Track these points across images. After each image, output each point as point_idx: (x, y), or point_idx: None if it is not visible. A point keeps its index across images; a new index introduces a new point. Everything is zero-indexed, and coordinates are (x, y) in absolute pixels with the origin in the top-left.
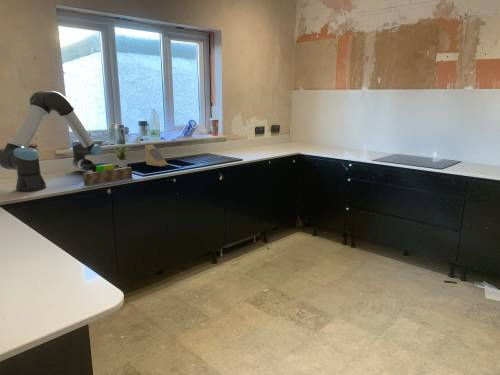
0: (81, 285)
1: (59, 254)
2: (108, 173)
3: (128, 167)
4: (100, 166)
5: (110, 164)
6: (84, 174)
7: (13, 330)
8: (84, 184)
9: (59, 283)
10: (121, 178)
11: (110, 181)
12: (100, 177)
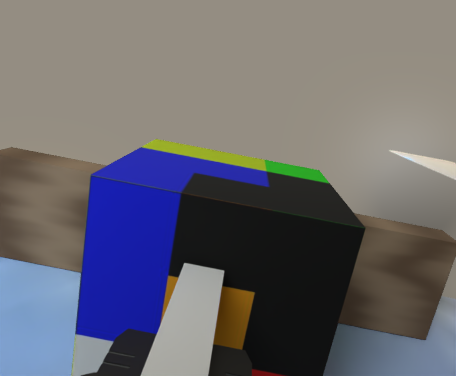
0: (414, 158)
1: (440, 172)
2: None
3: (29, 153)
4: (295, 166)
5: (172, 147)
6: (442, 231)
7: (453, 163)
8: (425, 329)
9: (432, 163)
10: None
11: None
12: None
